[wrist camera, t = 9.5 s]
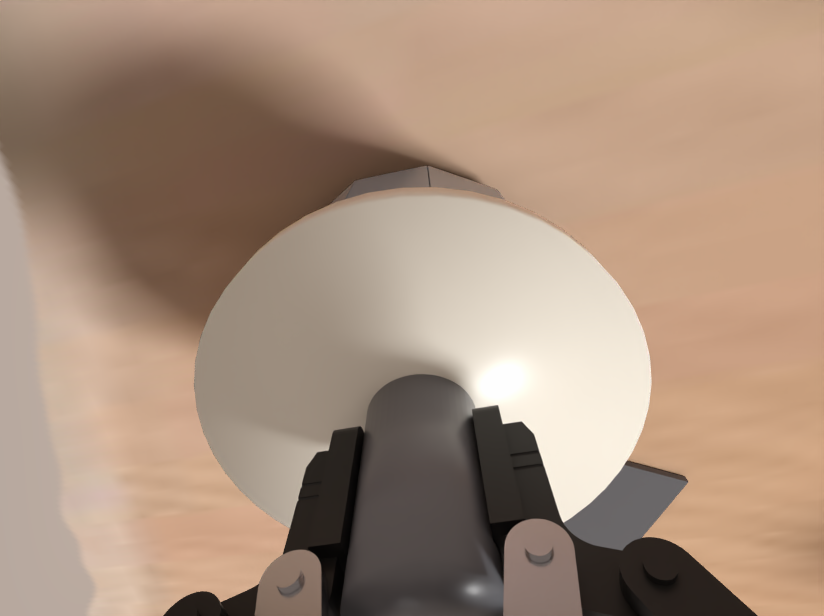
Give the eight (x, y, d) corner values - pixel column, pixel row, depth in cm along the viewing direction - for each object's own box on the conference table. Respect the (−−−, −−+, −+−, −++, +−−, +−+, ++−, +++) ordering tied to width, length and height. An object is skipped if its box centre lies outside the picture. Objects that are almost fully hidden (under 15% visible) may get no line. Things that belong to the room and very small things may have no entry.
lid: (727, 273, 13) (985, 449, 7) (527, 566, 18) (578, 795, 13) (242, 113, 11) (50, 171, 5) (187, 492, 17) (67, 720, 11)
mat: (685, 476, 27) (688, 482, 27) (566, 620, 34) (567, 625, 34) (440, 411, 25) (441, 416, 25) (364, 577, 32) (364, 583, 32)
